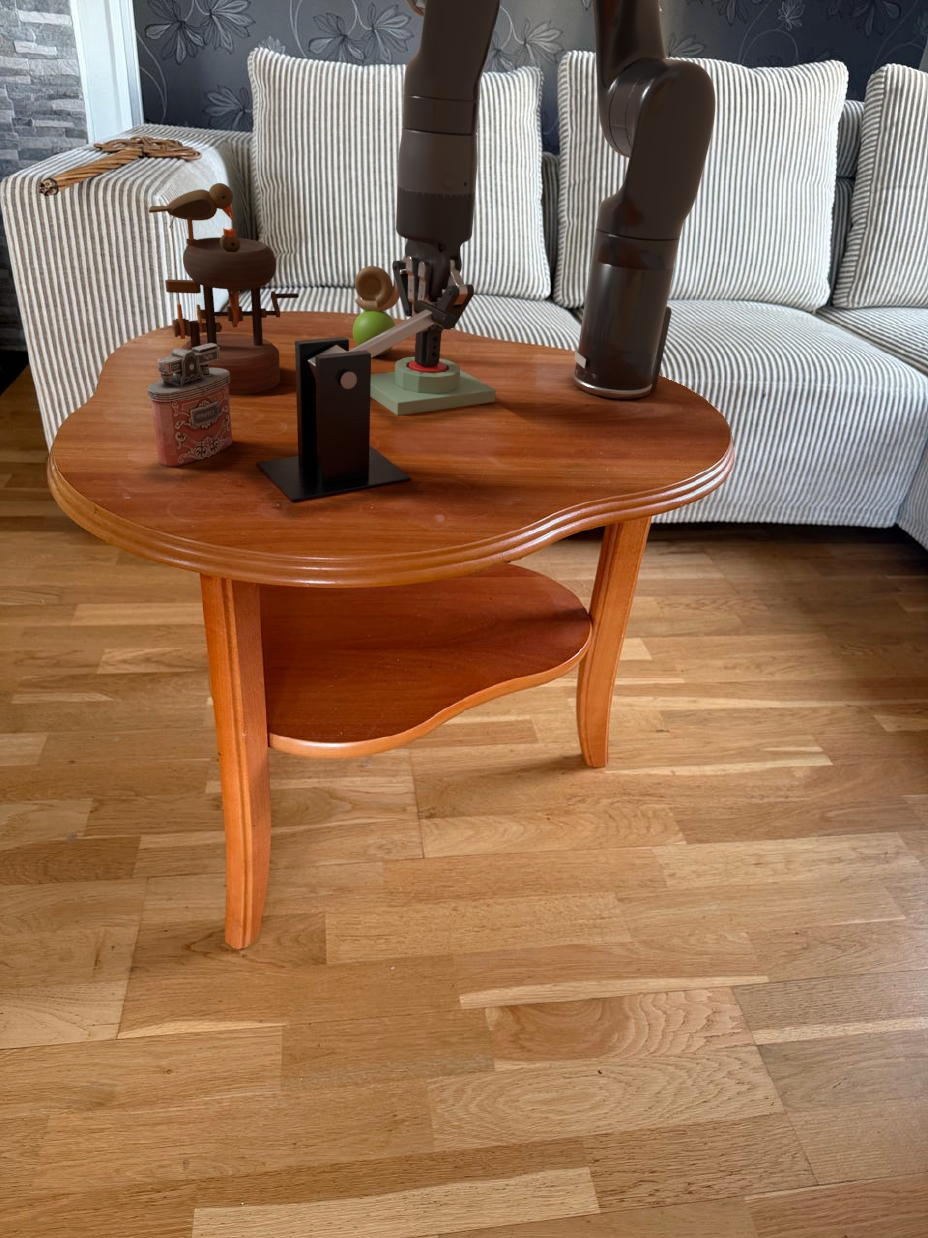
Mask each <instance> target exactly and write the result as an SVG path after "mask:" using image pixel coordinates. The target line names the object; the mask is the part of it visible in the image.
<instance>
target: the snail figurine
mask: <svg viewBox="0 0 928 1238" xmlns="http://www.w3.org/2000/svg"><path fill="white" fill-rule="evenodd" d="M404 257H405V253H404V254H403V257H402V259H403V258H404ZM354 289H355V292H356V293H357V295H358V296H359V298H355V299H354V303H355V304H356V305H357V306H358V307H359V308H360V309H362V310H363V312H361V313H360V314H358V316H357V317H356V319H355V320H354V322H353V326H352V338H353V340H354V344H355V345H356V347H357V346H359V345H361V344H363V343H365V342H366V341H368V340H370V339H372V338H374V337H376V336H378V335H380V334H381V333H383V332H385V331H387V330H389V329H391V328H393V327H394V326H396V325H397V324H396V322H395V319H394V318H393V317H392V316H391V315H390V314H389V313H387V312H386V311H388V310H390V309H392V308H393V307H395V306H396V304H397V303H398V302H399V300H400V299H401V298H400V295H399V291H398V287H397V284H396V280H395V279H394V283H393V281H392V278H391V276H390V275H389V273H388V272H387V271H386V270H385V269H383V268H381V267H379V266H377V265H369V266H365V267H363V268H361V269H360V270H359V271H358V273H357V274H356V276H355V279H354ZM392 348H393V347H391V348H389V349H387V350H385V351H383V352H382V353H380V354H378V355H376V356H382V355H384V354H386V353H388V352H389V351H391V349H392ZM376 356H375V357H376Z"/></svg>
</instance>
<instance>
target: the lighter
mask: <svg viewBox="0 0 928 1238" xmlns="http://www.w3.org/2000/svg"><path fill="white" fill-rule="evenodd" d="M181 348H182V347H181ZM181 348H180V347H176V348H173V349H172V350H171V353H170V355H168V356H165V357H160V358H158V359H157V366H158V367H157V368H158V373H159V374H160V377H161V379H160V380H158V381H154V382H153V383H150V384H149V385H147V388H146V389H147V396H148V399H150V402H151V409H152V410H151V411H152V418H153V427H154V434H155V442H156V451H157V458H158V464H159V465H160V466H162V467H164V468H170V469H172V468H173V469H174V468H181V467H183V466H188V465H191V464H195V463H197V462H201V461H203V460H206V459H210V458H212V457H213V456H216V455H218V454H220V453H222V452H225V451H226V450H228V449H229V448H231V447H232V446H233V443H234V442H233V432H232V417H231V416H232V415H231V405H230V404H231V403H230V394H229V389H228V383H229V382H230V373H229V371H228V370H225V369H222V368H209V365H208V364H207V363H210V362H214V361H217V360H220V350H219V347H217V345H216V344H213V343H209V344H205V345H201V346H198V347H194V348H192V350H190V351H187V350H184V349H181Z"/></svg>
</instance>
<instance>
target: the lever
mask: <svg viewBox="0 0 928 1238" xmlns="http://www.w3.org/2000/svg"><path fill="white" fill-rule="evenodd" d="M413 309H414V312H415V313H416V314H417V315H415V316H413V317H411V316H410V317H409V318H408V319H406V320H404V321H402V322H400V323H398V324H395V325H396V326H394V327H393V328H391V329H389V330H387V331H385V332H383V333H381V334H380V335H378V336H376V337H374V338H372V339H370V340H368V341H366V342H365V343H363V344H361V345H359V346H357V345H356V346H355V347H354V348H353V347H352V348H351V349H349V351H348V352H353V351H363V350H366V351H368V352H369V353H371V359H372V358H374V357H376V355H378V354H380V353H382V352H383V351H385V350H387V349H389V348H391V347H392V348H393V347H394V346H397V345H398V344H400V343H402V342H404V341H405V340H407V339H410V338H411V337H413V336H416V334H417V333H418V332H420V331H422V330H424V329H426V328H428V327H429V326H431V325H433V324H437V325H439V326H441V327H443V328H445V329H444V330H447V331H449V330H451V329H454V328H455V327H454V325H455V318H454V316H453V315H451V314H449V313H447V312H445V311H443V310H440V309H438V308H436V307H434V306H432V305H430V304H428V303H426V302H424V301H422V300H418V301H417V302H415V304H414V307H413ZM455 326H456V325H455ZM453 327H454V328H453ZM392 348H391V349H392ZM343 352H347V351H345V350H344V349H342V348H341V347H339V346H338V345H335V346H333V347H332V348H330V349H328V350H326V351H324V352H322V353H320V354H318V355H323V354H333V353H343ZM378 356H379V355H378ZM308 363H309V365H310V368H311V370H312V372H313V375H314V377H315V380H316V364H315V357H313V358H311V359H309V360H308Z"/></svg>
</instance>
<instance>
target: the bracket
mask: <svg viewBox="0 0 928 1238" xmlns="http://www.w3.org/2000/svg"><path fill="white" fill-rule="evenodd" d="M335 345H338V346H339V347H341V348H342V349H344V350H345V351H347V352H343V353H333V354H323V355H318V354H320V353H322V352H324V351H326V350H328V349H330V348H332V347H333V346H335ZM348 351H350V339H349V338H347V337H346V336H334V337H321V338H311V339H301V340H300V339H299V340H294V352H295V353H294V356H295V357H294V359H295V360H294V361H295V362H294V363H295V393H296V397H295V398H296V424H297V425H296V427H297V429H296V431H297V455H295V456H288V457H282V458H276V459H270V460H262V461H257V462H256V463H255V466H256V467H257V468H258V469H259V470H260V472H262V474H263V475H264V476H265V477H266V478H267V479H268V480H269V481H270V482H271V483H272V484H273V485H274V486H275V487H276V488H277V489H278V490H279V491H280V492H281V493H282V494H283V495H284V496H285V497H286V499H288V500H289V501H290V503H292V504H293V503H299V502H304V501H309V500H315V499H320V498H325V497H326V498H327V497H332V496H338V495H341V494H348V493H353V492H359V491H363V490H364V491H365V490H369V489H374V488H382V487H386V486H391V485H397V484H402V483H407V482H411V481H412V478H411V476H409V475H408V474H407V473H406V472H404V471H403V470H402V469H400V468H399V467H398V466H397V465H395V464H394V463H393V462H392V461H390V459H388V458H387V457H386V456H385V455H383V454H382V453H380V451H378V450H377V449H375V448H374V447H373V446H372V445H371V444H370V442H371V441H370V439H371V435H370V434H371V396H370V392H371V374H372V358H371V353H369V352H368V351H366V350H363V351H353V352H348ZM313 357H315V364H316V380H315V377H314V375H313V372H312V370H311V368H310V365H309V363H308V360H309V359H311V358H313Z"/></svg>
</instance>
